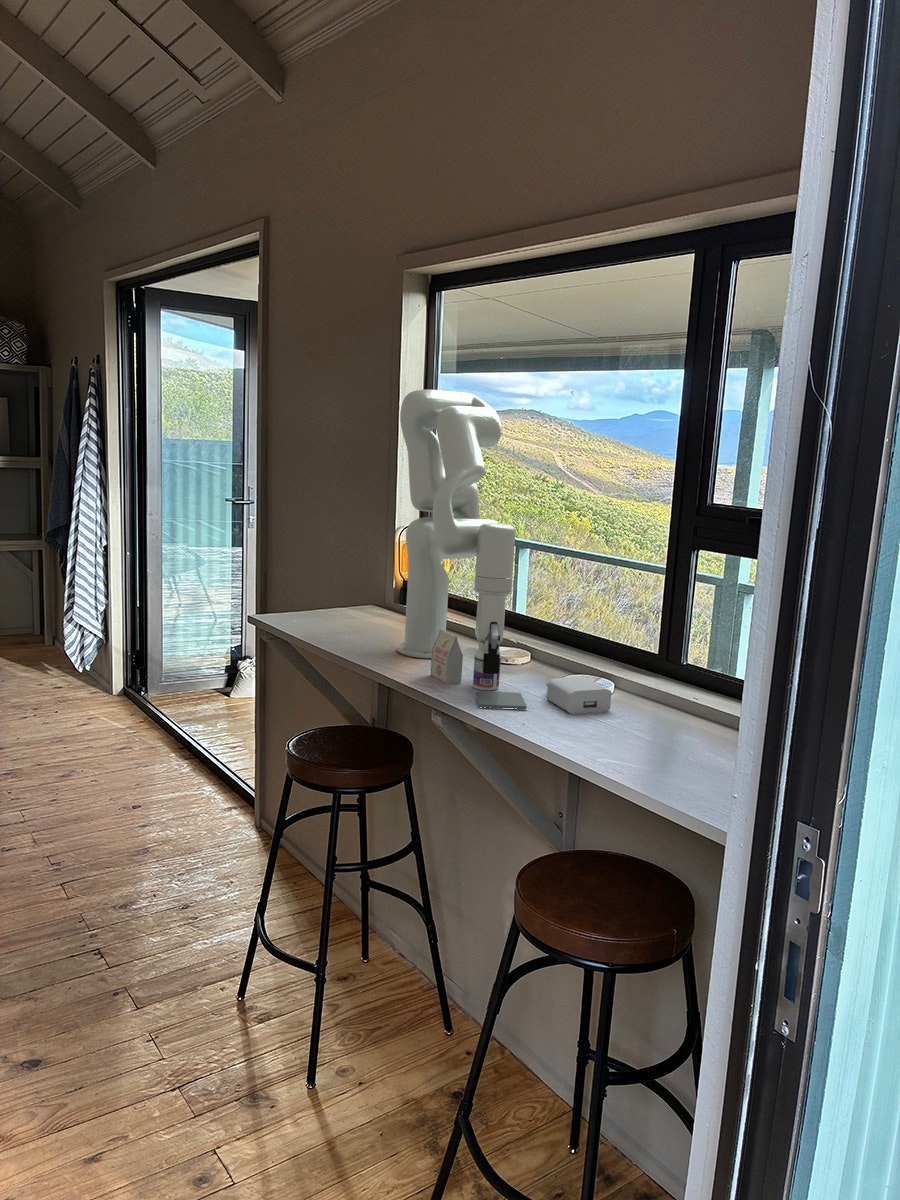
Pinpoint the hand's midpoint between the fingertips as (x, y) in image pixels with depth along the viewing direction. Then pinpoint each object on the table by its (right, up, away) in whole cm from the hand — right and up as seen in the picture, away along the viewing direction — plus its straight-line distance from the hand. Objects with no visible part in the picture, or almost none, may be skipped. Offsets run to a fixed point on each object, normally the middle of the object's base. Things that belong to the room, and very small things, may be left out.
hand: (488, 667), depth 186 cm
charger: (+16, -7, -4) cm, 18 cm away
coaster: (+2, -6, -8) cm, 11 cm away
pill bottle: (-1, -4, +1) cm, 5 cm away
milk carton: (-9, -3, +6) cm, 11 cm away
